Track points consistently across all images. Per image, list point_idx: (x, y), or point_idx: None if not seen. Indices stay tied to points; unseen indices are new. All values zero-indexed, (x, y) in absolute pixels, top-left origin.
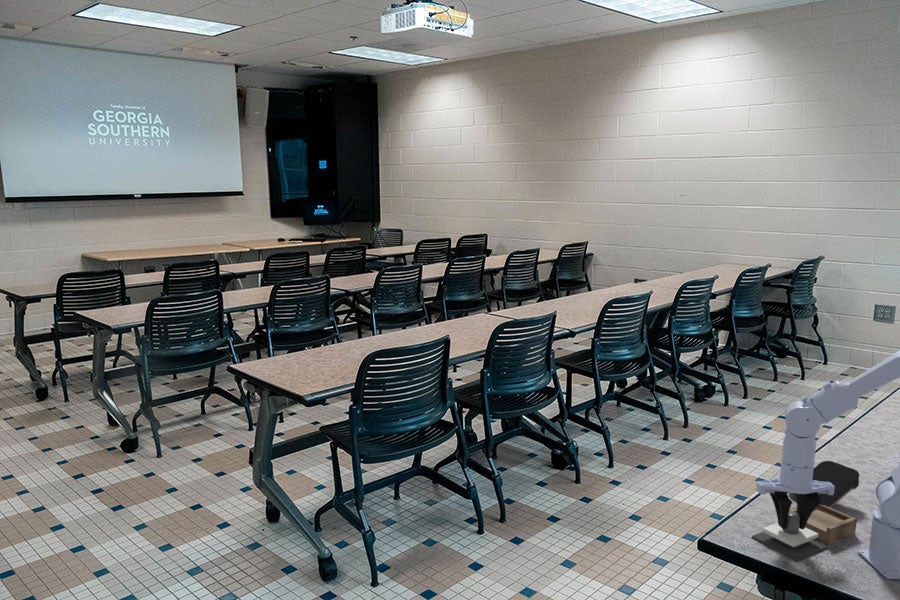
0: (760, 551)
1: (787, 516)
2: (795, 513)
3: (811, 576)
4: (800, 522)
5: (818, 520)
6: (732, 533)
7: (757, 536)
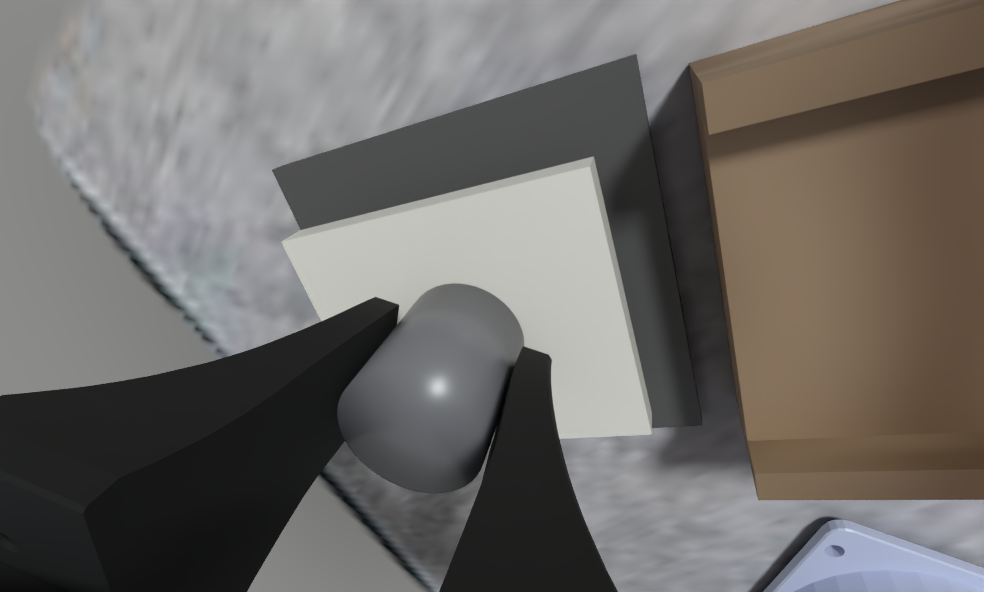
0: (269, 308)
1: (313, 473)
2: (456, 434)
3: (394, 518)
4: (495, 432)
5: (913, 282)
6: (177, 75)
7: (304, 188)
